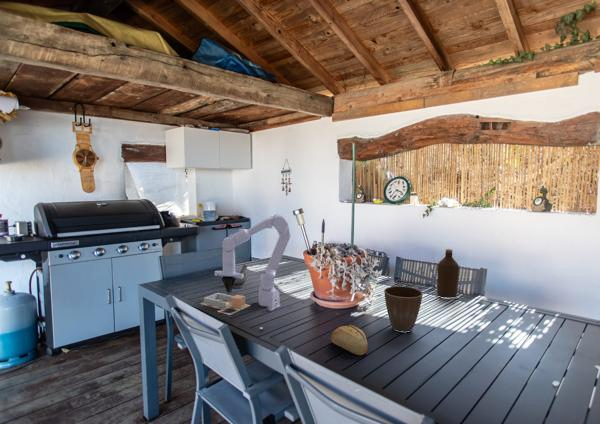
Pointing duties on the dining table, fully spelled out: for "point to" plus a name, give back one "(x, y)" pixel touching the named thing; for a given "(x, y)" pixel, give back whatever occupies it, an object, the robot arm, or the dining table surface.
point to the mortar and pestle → (240, 282)
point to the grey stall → (217, 303)
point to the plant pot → (402, 306)
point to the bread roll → (350, 339)
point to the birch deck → (228, 305)
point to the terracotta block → (238, 301)
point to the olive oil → (447, 276)
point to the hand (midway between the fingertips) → (229, 292)
